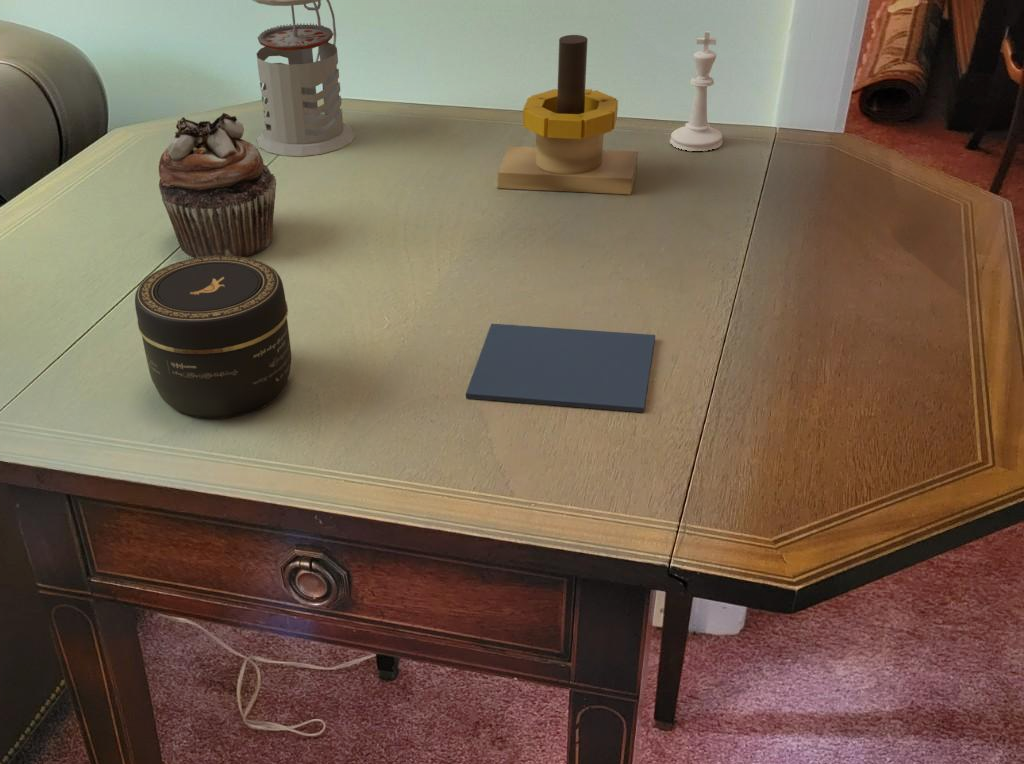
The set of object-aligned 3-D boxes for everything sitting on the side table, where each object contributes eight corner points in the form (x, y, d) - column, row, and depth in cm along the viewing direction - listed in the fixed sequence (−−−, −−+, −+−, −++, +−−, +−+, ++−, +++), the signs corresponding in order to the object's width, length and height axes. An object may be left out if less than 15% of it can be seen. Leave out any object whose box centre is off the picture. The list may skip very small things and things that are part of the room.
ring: (619, 108, 110) (621, 90, 109) (610, 140, 104) (611, 121, 103) (532, 105, 112) (532, 87, 110) (518, 137, 106) (518, 118, 105)
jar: (313, 356, 88) (302, 256, 83) (271, 430, 81) (257, 326, 76) (182, 346, 90) (164, 248, 85) (131, 418, 82) (107, 316, 77)
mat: (655, 339, 88) (655, 334, 88) (643, 412, 81) (644, 407, 80) (491, 328, 90) (491, 323, 90) (465, 398, 83) (465, 393, 83)
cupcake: (174, 272, 99) (151, 150, 93) (166, 225, 107) (145, 108, 100) (290, 257, 101) (275, 135, 94) (275, 211, 108) (260, 95, 101)
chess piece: (671, 132, 119) (681, 22, 112) (722, 134, 118) (736, 23, 111) (668, 151, 115) (678, 39, 108) (721, 152, 114) (735, 40, 108)
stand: (637, 167, 112) (647, 29, 104) (631, 194, 108) (641, 52, 100) (508, 161, 115) (509, 26, 107) (497, 188, 110) (497, 48, 102)
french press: (238, 149, 120) (198, -144, 103) (293, 110, 128) (263, -168, 111) (328, 161, 116) (300, -141, 100) (378, 119, 124) (360, -166, 108)
